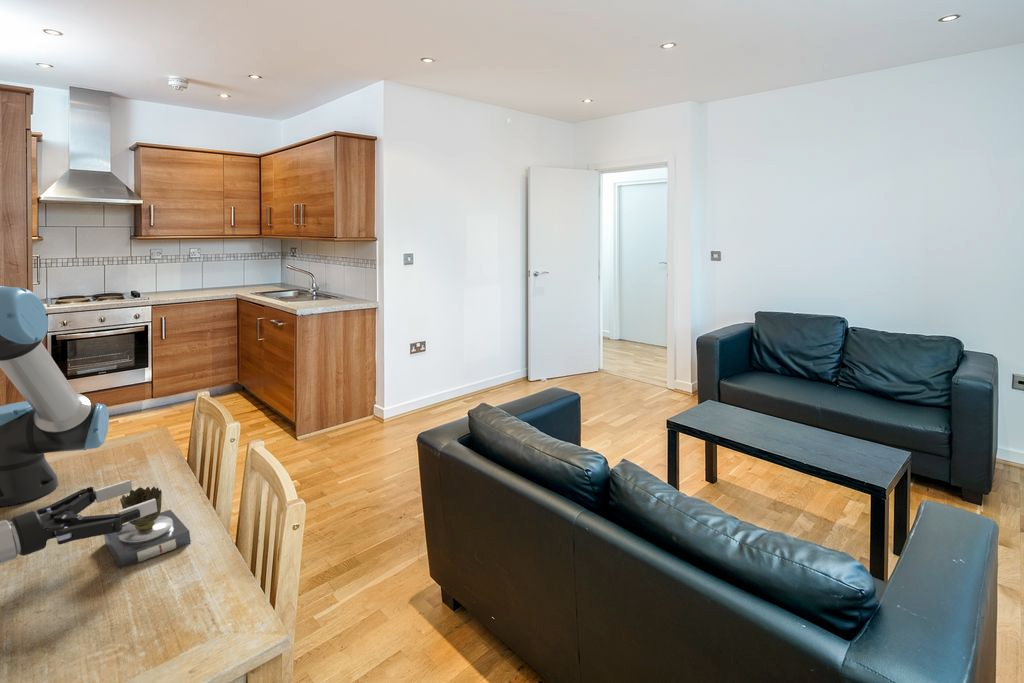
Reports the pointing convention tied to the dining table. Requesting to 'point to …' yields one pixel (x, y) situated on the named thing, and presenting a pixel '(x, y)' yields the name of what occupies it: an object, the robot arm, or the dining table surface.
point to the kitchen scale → (147, 540)
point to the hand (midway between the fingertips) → (143, 494)
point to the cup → (140, 497)
